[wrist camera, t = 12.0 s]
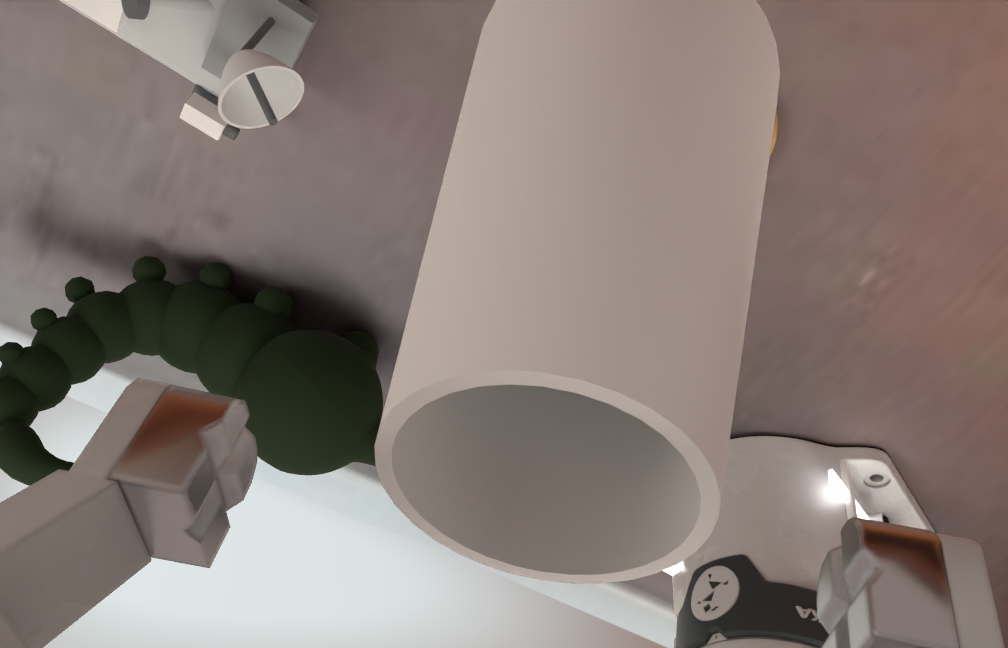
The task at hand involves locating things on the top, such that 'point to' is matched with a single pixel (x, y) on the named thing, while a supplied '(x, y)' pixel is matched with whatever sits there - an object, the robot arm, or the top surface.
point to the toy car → (218, 53)
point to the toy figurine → (200, 367)
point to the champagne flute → (586, 288)
